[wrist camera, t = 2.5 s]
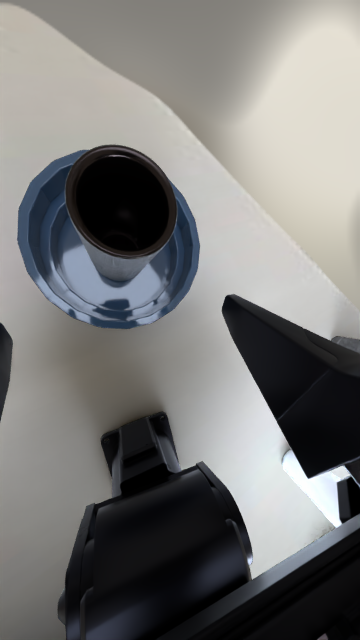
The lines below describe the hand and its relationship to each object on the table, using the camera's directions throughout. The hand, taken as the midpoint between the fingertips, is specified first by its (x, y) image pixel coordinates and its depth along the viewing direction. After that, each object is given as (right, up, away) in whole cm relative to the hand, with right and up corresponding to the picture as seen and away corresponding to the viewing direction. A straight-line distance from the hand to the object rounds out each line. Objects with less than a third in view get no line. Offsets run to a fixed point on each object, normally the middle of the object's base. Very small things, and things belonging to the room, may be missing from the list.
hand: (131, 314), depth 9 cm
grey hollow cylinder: (-3, +5, +10) cm, 12 cm away
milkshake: (+17, -19, +19) cm, 32 cm away
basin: (-3, +5, +10) cm, 12 cm away
